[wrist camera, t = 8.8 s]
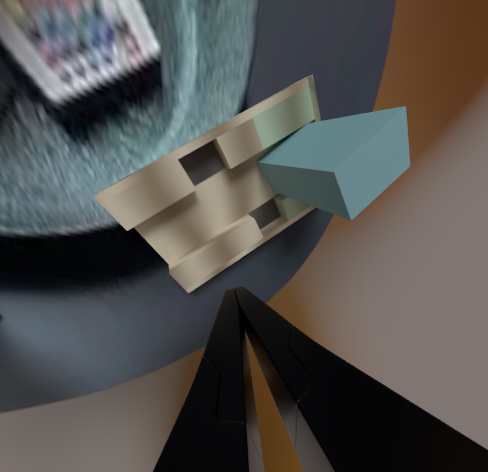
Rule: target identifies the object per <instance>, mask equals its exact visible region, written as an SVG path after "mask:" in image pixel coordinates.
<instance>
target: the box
mask: <svg viewBox="0 0 488 472" xmlns="http://www.w3.org/2000/svg"><path fill="white" fill-rule="evenodd" d="M319 121H321V119H320V113H319V107H318V102H317V96H316V90H315V84H314V78H313V74H312V75H310V76H308V77H306V78H304V79H302V80H300V81H298V82H296V83H294V84H293V85H291V86H289V87H287V88H285V89H284V90H282V91H280V92H278V93H276V94H274V95H273V96H271V97H269V98H267V99H265V100H264V101H262V102H260V103H258V104H256V105H255V106H253V107H251V108H249V109H247V110H246V111H244V112H242V113H240V114H238V115H237V116H235V117H233V118H231V119H229V120H228V121H226V122H224V123H222V124H220V125H219V126H217V127H215V128H213V129H211V130H210V131H208V132H206V133H204V134H202V135H201V136H199V137H197V138H195V139H193V140H192V141H190V142H188V143H186V144H184V145H183V146H181V147H179V148H177V149H175V150H174V151H172V152H170V153H168V154H166V155H165V156H163V157H161V158H159V159H157V160H156V161H154V162H152V163H150V164H148V165H147V166H145V167H143V168H141V169H139V170H138V171H136V172H134V173H132V174H130V175H129V176H127V177H125V178H123V179H121V180H120V181H118V182H116V183H114V184H112V185H111V186H109V187H107V188H105V189H103V190H102V191H100V192H99V193H97V194H96V195H95V196H93V197H94V198H95V199H96V200H97V201H98V202H99V203H100V204H101V205H102V206H103V207H104V208H105V209H106V210H107V211H108V212H109V213H110V214H111V215H112V216H113V217H114V218H115V219H116V220H117V221H118V222H119V223H120V224H121V225H122V226H123V227H124V228H125V229H126V230H127V231H128V230H130V229H131V228H133V227H134V228H135V229H136V230H137V231H138V232H139V233H140V234H141V236H142V237H143V238H144V239H145V240H146V241H147V242H148V243H149V244H150V245H151V246H152V247H153V248H154V249H155V250H156V251H157V252H158V253H159V255H160V256H161V257H162V258H163V259H164V260H165V261H166V262H167V263H168V264H169V274H170V275H171V276H172V277H173V278H174V279H175V280H176V281H177V282H178V283H179V284H180V285H181V286H182V287H183V288H184V289H185V290H186V291H187V292H188V293H190V292H191V291H193V290H194V289H196V288H197V287H199V286H200V285H202V284H203V283H205V282H206V281H208V280H209V279H211V278H212V277H214V276H215V275H217V274H218V273H220V272H221V271H223V270H224V269H226V268H227V267H229V266H230V265H231V264H233V263H234V262H236V261H237V260H239V259H240V258H242V257H243V256H245V255H246V254H248V253H249V252H251V251H252V250H254V249H255V248H257V247H258V246H260V245H261V244H263V243H264V242H266V241H267V240H269V239H270V238H272V237H273V236H275V235H276V234H278V233H279V232H281V231H282V230H284V229H285V228H287V227H288V226H289V225H291V224H292V223H294V222H295V221H297V220H298V219H300V218H301V217H303V216H304V215H306V214H307V213H309V212H310V211H312V210H313V209H315V208H316V207H313V206H311V205H308V204H305V203H302V202H300V201H297V200H294V199H292V198H289V197H286V196H284V195H281V194H278V193H275V192H274V191H273V189H272V188H271V186H270V185H269V183H268V181H267V180H266V178H265V177H264V175H263V173H262V172H261V170H260V169H259V167H258V165H257V164H256V161H257V160H258V159H259V158H260V157H262V156H263V155H264V154H265V153H266V152H267V151H268V150H269V149H270V148H271V147H273V146H274V145H275V144H276V143H277V142H278V141H279V140H281V139H282V138H284V137H286V136H287V135H289V134H291V133H292V132H294V131H296V130H297V129H299V128H301V127H302V126H304V125H306V124H308V123H314V122H319Z"/></svg>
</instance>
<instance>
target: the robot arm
mask: <svg viewBox="0 0 488 472" xmlns="http://www.w3.org/2000/svg"><path fill="white" fill-rule="evenodd" d="M244 328H245V329H244ZM245 331H246V333H245ZM246 334H247V336H248V339H249V341H250V344H251V346H252V348H253V351H254V353H255V355H256V358H257V360H258V363H259V365H260V367H261V370H262V372H263V375H264V377H265V379H266V382H267V384H268V386H269V389H270V391H271V394H272V396H273V399H274V401H275V403H276V406H277V408H278V410H279V413H280V415H281V418H282V420H283V423H284V425H285V427H286V430H287V432H288V434H289V437H290V439H291V442H292V444H293V446H294V449H295V450H296V453H297V456H298V458H299V461H300V463H301V466H302V469H303V471H304V472H488V450H487V449H486V448H484V447H482V446H481V445H479V444H477V443H476V442H474V441H473V440H471V439H470V438H468V437H466V436H465V435H463V434H461V433H460V432H458V431H456V430H455V429H454V428H452V427H450V426H449V425H447V424H446V423H444V422H442V421H441V420H439V419H438V418H436V417H434V416H433V415H431V414H430V413H428V412H426V411H425V410H423V409H422V408H420V407H418V406H417V405H415V404H413V403H412V402H410V401H409V400H407V399H406V398H404V397H402V396H401V395H399V394H398V393H396V392H394V391H393V390H391V389H390V388H388V387H386V386H385V385H383V384H382V383H380V382H378V381H377V380H375V379H374V378H372V377H370V376H369V375H367V374H365V373H364V372H362V371H361V370H359V369H358V368H356V367H354V366H353V365H351V364H350V363H348V362H346V361H345V360H343V359H342V358H340V357H338V356H337V355H335V354H334V353H332V352H330V351H329V350H327V349H326V348H324V347H322V346H321V345H320V344H318V343H317V342H315V341H314V340H312V339H311V338H309V337H308V336H307V335H305V334H304V333H303V332H301V331H300V330H299V329H298V328H296V327H295V326H293V325H292V324H291V323H289V322H288V321H287V320H286V319H284V318H283V317H282V316H281V315H279V314H278V313H277V312H275V311H274V310H273V309H272V308H270V307H269V306H268V305H267V304H265V303H264V302H263V301H261V300H260V299H259V298H258V297H256V296H255V295H254V294H252V293H251V292H250V291H249V290H247V289H246V288H245V287H244V286H238V287H235V288H232V289H228V290H226V291H225V294H224V297H223V299H222V302H221V305H220V308H219V311H218V314H217V317H216V320H215V323H214V325H213V328H212V331H211V334H210V337H209V340H208V343H207V346H206V349H205V352H204V355H203V356H204V357H202V359H201V362H200V365H199V368H198V371H197V373H196V376H195V379H194V381H193V384H192V386H191V389H190V391H189V394H188V395H187V398H186V400H185V402H184V405H183V407H182V409H181V412H180V413H179V416H178V418H177V420H176V422H175V424H174V426H173V429H172V431H171V433H170V435H169V437H168V440H167V442H166V444H165V446H164V448H163V450H162V453H161V455H160V457H159V459H158V461H157V463H156V466H155V468H154V470H153V472H264V466H263V457H262V449H261V442H260V436H259V427H258V420H257V413H256V406H255V398H254V391H253V384H252V376H251V369H250V362H249V354H248V347H247V340H246Z"/></svg>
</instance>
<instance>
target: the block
mask: <svg viewBox="0 0 488 472" xmlns="http://www.w3.org/2000/svg"><path fill="white" fill-rule="evenodd" d="M256 164H257V165H258V167H259V169H260V170H261V172H262V173H263V175H264V177H265V178H266V180H267V181H268V183H269V185H270V186H271V188H272V189H273V191H274V192H275V193H278V194H281V195H284V196H286V197H289V198H292V199H294V200H297V201H300V202H302V203H305V204H308V205H311V206H313V207H316V208H319V209H321V210H324V211H327V212H330V213H332V214H335V215H338V216H341V217H343V218H346V219H348V220H352V219H353V218H354V217H356V216H357V215H358V214H359V213H360V212H361V211H362V210H363V209H364V208H365V207H366V206H367V205H369V204H370V203H371V202H372V201H373V200H374V199H375V198H376V197H377V196H378V195H379V194H380V193H381V192H383V191H384V190H385V189H386V188H387V187H388V186H389V185H390V184H391V183H392V182H393V181H394V180H395V179H397V178H398V177H399V176H400V175H401V174H402V173H403V172H404V171H405V170H406V169H407V168H408V167H409V166H410V157H409V144H408V130H407V117H406V106H404V107H398V108H393V109H387V110H381V111H376V112H370V113H364V114H359V115H353V116H347V117H342V118H336V119H331V120H325V121H319V122H314V123H308V124H306V125H304V126H302V127H301V128H299V129H297V130H296V131H294V132H292V133H291V134H289V135H287V136H286V137H284V138H282V139H281V140H279V141H278V142H277V143H276V144H275V145H274V146H273V147H271V148H270V149H269V150H268V151H267V152H266V153H265V154H264V155H263V156H262V157H260V158H259V159H258V160H257V161H256Z"/></svg>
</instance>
